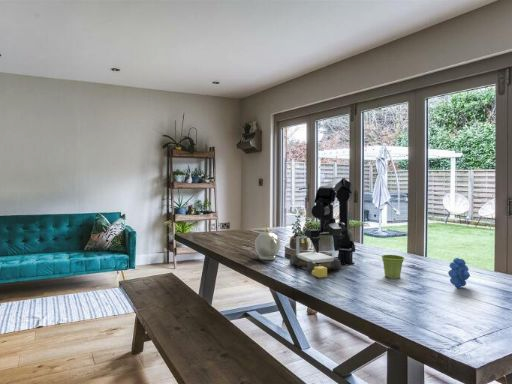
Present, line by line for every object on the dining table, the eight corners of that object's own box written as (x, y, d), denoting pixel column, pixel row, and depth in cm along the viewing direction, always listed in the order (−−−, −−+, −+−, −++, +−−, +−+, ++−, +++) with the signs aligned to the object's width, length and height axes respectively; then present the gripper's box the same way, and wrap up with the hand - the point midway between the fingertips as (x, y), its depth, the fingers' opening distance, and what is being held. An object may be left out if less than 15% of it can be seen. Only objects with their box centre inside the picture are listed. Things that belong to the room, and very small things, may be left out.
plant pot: (403, 274, 163) (403, 255, 162) (404, 280, 154) (405, 259, 154) (381, 273, 166) (381, 254, 165) (381, 278, 157) (381, 258, 157)
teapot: (250, 257, 201) (250, 227, 200) (273, 255, 206) (272, 225, 205) (264, 264, 184) (263, 231, 184) (288, 261, 190) (288, 229, 189)
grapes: (461, 293, 136) (461, 261, 136) (443, 289, 142) (444, 258, 141) (477, 288, 142) (478, 257, 142) (460, 284, 148) (460, 254, 148)
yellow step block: (319, 273, 166) (319, 264, 166) (327, 277, 161) (327, 267, 161) (311, 274, 165) (311, 265, 165) (319, 278, 159) (319, 268, 159)
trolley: (290, 263, 185) (290, 235, 184) (316, 261, 191) (316, 233, 190) (312, 273, 166) (312, 242, 165) (340, 270, 172) (340, 239, 171)
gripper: (318, 219, 149) (318, 257, 150) (356, 216, 156) (356, 253, 157) (304, 216, 159) (304, 252, 160) (340, 214, 166) (340, 248, 167)
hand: (326, 251), depth 161 cm, fingers open, 9 cm apart
